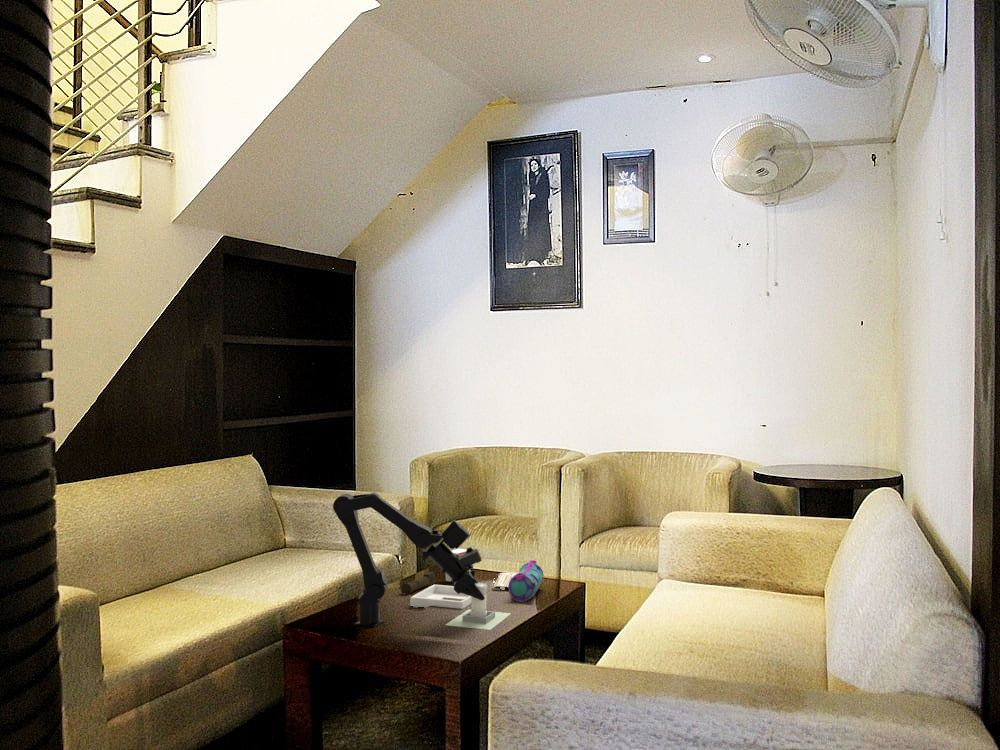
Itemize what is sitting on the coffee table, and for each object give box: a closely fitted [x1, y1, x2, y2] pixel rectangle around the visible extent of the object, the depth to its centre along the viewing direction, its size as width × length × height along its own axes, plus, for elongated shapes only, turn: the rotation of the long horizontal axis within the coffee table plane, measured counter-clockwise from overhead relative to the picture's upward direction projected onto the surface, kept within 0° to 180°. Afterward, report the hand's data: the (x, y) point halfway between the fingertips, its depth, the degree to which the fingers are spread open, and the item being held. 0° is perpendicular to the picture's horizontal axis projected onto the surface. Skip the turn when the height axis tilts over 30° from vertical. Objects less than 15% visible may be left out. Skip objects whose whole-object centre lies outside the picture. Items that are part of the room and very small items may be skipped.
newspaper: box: [492, 572, 517, 591], centre depth 300 cm, size 23×12×2 cm, turn 174°
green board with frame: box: [445, 608, 512, 631], centre depth 252 cm, size 18×14×2 cm
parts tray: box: [409, 584, 472, 610], centre depth 275 cm, size 18×18×3 cm
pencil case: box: [507, 559, 544, 603], centre depth 284 cm, size 21×9×10 cm, turn 169°
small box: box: [445, 548, 471, 582], centre depth 306 cm, size 8×6×10 cm
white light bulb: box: [471, 582, 488, 618], centre depth 252 cm, size 5×5×10 cm
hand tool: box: [400, 571, 436, 595], centre depth 293 cm, size 19×4×5 cm, turn 150°
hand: (483, 596), depth 252 cm, fingers open, 5 cm apart
